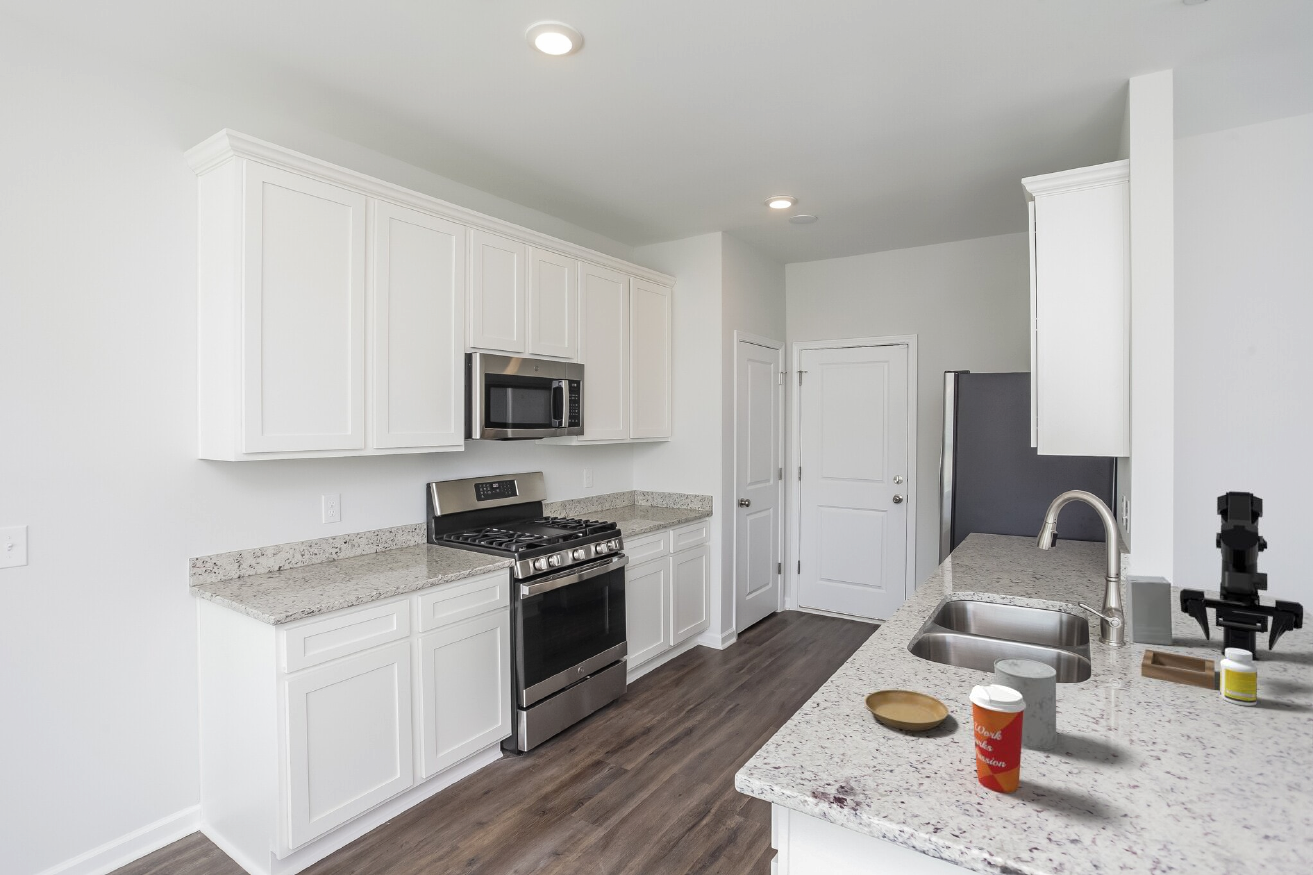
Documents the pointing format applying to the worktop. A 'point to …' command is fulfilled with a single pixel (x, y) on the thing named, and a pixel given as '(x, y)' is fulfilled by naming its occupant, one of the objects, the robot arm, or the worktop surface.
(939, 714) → the plant saucer
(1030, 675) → the grey concrete cylinder
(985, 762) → the paper cup
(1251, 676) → the supplement bottle
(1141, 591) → the skincare box
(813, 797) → the worktop surface
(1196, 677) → the brown wooden frame
